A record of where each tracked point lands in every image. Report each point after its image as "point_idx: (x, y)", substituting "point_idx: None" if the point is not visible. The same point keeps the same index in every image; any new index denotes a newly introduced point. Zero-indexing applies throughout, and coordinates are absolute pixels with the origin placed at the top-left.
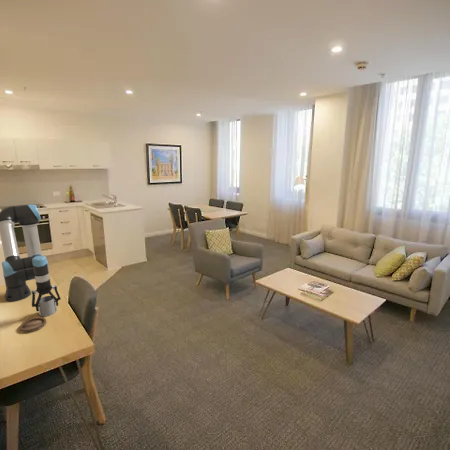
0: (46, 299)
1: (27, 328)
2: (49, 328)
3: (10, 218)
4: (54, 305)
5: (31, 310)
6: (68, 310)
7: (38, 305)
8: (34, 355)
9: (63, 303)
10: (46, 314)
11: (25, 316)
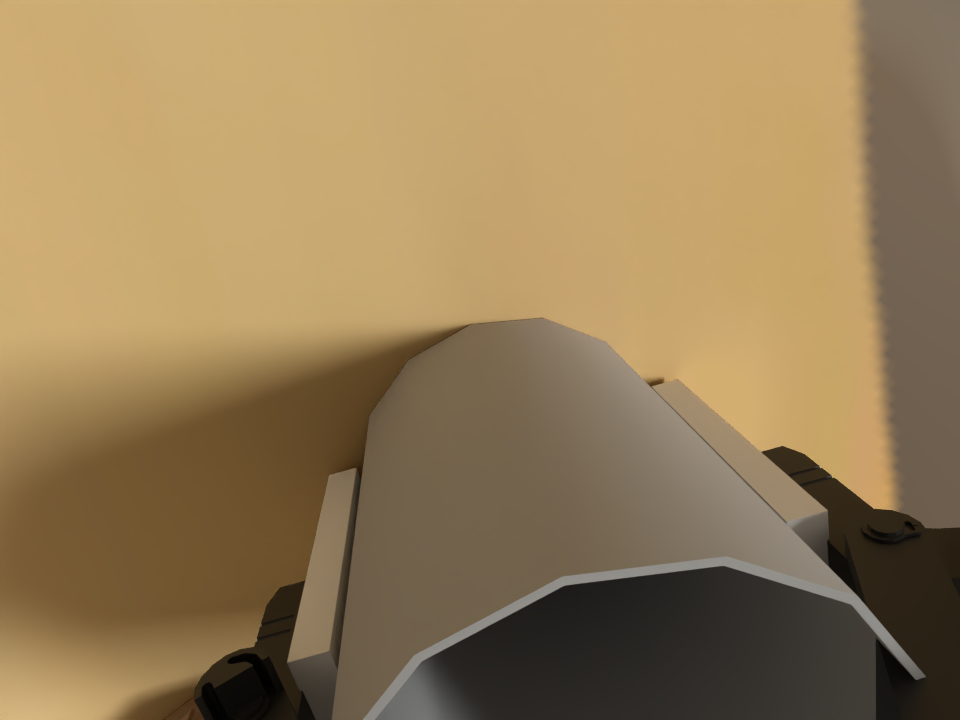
0: (566, 478)
1: None
2: None
3: None
4: (730, 577)
5: (51, 176)
6: (882, 490)
7: (323, 689)
8: None
9: (834, 96)
10: (505, 618)
11: (21, 450)
